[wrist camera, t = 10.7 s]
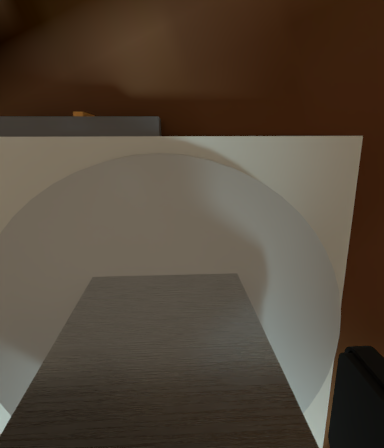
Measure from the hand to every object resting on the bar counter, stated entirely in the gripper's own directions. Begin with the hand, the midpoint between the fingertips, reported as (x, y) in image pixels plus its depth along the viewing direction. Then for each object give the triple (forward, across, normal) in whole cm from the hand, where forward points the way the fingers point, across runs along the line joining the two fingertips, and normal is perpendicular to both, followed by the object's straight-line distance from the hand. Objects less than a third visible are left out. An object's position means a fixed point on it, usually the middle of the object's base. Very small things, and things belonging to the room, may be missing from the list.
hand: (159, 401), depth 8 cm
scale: (+6, 0, 0) cm, 6 cm away
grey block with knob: (+3, 0, 0) cm, 3 cm away
